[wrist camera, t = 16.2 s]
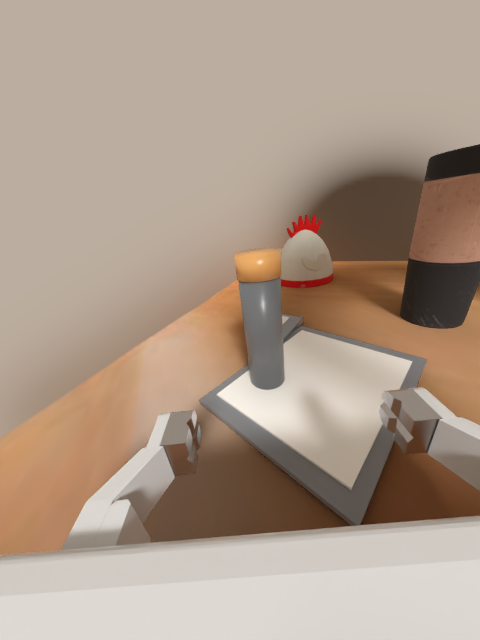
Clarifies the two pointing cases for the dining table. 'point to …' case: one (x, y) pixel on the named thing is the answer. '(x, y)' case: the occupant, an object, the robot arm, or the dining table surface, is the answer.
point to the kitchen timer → (305, 257)
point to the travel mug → (445, 242)
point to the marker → (262, 314)
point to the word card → (290, 324)
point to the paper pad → (322, 415)
